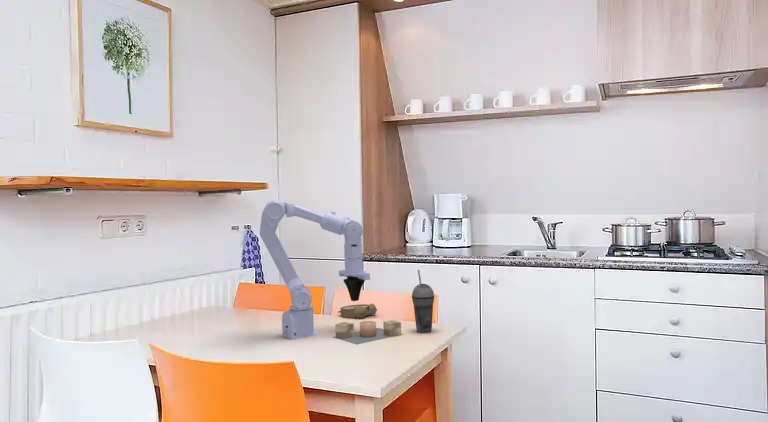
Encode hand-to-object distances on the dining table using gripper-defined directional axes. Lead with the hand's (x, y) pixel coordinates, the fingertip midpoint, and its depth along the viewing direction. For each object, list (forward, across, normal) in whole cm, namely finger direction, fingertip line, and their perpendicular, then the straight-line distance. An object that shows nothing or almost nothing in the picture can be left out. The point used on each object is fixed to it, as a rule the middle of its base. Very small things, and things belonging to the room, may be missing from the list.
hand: (354, 300), depth 190 cm
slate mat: (+10, -8, +1) cm, 13 cm away
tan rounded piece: (+10, -8, +1) cm, 13 cm away
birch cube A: (+10, -4, +7) cm, 13 cm away
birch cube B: (+10, -12, -5) cm, 17 cm away
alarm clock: (+11, +22, -17) cm, 30 cm away
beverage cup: (+11, -16, -15) cm, 24 cm away
